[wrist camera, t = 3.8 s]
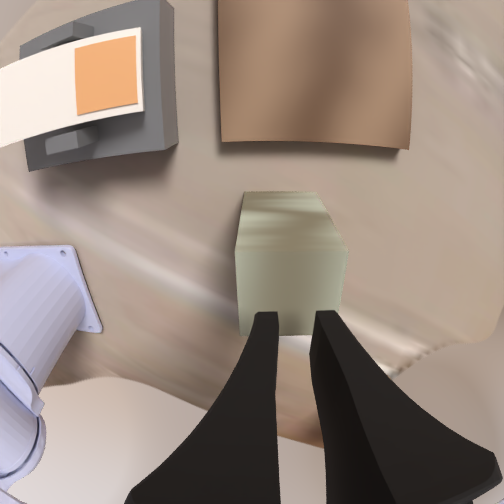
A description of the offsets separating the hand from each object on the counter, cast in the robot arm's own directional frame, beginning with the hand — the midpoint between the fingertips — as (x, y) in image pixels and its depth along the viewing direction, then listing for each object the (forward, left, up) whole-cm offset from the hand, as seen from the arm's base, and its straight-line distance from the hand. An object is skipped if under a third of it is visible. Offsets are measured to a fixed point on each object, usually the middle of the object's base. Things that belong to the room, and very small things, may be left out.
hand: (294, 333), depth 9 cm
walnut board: (+2, +10, -9) cm, 14 cm away
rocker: (-10, +9, -5) cm, 14 cm away
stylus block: (0, 0, -9) cm, 9 cm away
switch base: (-10, +9, -9) cm, 16 cm away
